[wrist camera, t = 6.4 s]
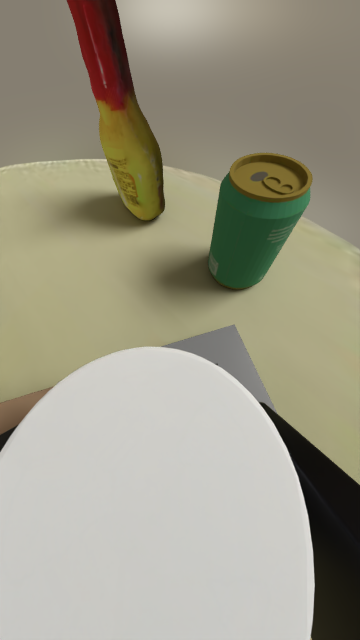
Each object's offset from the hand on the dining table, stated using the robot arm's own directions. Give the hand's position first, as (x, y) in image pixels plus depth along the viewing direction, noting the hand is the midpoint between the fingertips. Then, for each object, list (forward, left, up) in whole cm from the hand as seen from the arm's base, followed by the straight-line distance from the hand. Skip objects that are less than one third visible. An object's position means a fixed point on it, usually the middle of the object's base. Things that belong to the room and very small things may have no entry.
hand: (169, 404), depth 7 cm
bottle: (+33, -3, -13) cm, 35 cm away
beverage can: (+15, -13, -13) cm, 24 cm away
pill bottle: (-1, +1, -7) cm, 7 cm away
